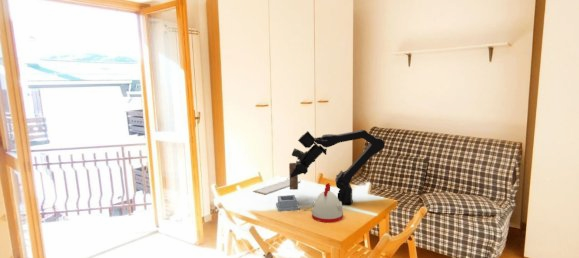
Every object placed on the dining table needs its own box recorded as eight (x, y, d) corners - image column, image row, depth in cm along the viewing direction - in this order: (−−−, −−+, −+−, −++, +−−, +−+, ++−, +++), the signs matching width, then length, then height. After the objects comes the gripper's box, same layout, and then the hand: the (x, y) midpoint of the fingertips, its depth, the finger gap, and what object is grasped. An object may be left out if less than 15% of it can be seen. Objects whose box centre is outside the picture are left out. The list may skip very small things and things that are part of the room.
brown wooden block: (297, 187, 166) (297, 162, 165) (297, 189, 163) (297, 164, 162) (290, 187, 167) (289, 162, 165) (289, 189, 164) (289, 164, 162)
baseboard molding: (250, 192, 188) (265, 196, 180) (250, 187, 187) (265, 191, 179) (286, 180, 211) (300, 183, 203) (286, 176, 210) (300, 179, 203)
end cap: (295, 202, 165) (295, 194, 165) (299, 209, 155) (298, 200, 155) (276, 204, 164) (275, 195, 163) (278, 211, 154) (278, 202, 154)
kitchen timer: (345, 213, 150) (345, 181, 148) (339, 224, 137) (339, 189, 136) (316, 209, 155) (316, 179, 153) (308, 220, 142) (307, 187, 141)
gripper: (301, 140, 171) (281, 161, 173) (300, 146, 153) (277, 169, 155) (316, 155, 172) (296, 175, 174) (316, 162, 153) (294, 185, 155)
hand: (290, 175), depth 164 cm, fingers closed on brown wooden block, 3 cm apart
